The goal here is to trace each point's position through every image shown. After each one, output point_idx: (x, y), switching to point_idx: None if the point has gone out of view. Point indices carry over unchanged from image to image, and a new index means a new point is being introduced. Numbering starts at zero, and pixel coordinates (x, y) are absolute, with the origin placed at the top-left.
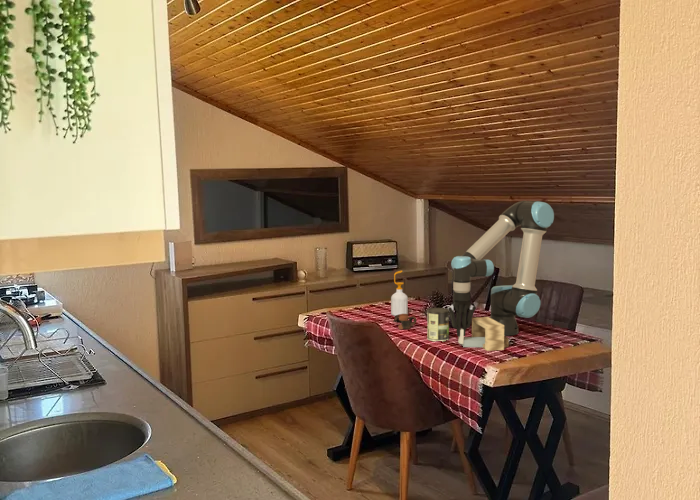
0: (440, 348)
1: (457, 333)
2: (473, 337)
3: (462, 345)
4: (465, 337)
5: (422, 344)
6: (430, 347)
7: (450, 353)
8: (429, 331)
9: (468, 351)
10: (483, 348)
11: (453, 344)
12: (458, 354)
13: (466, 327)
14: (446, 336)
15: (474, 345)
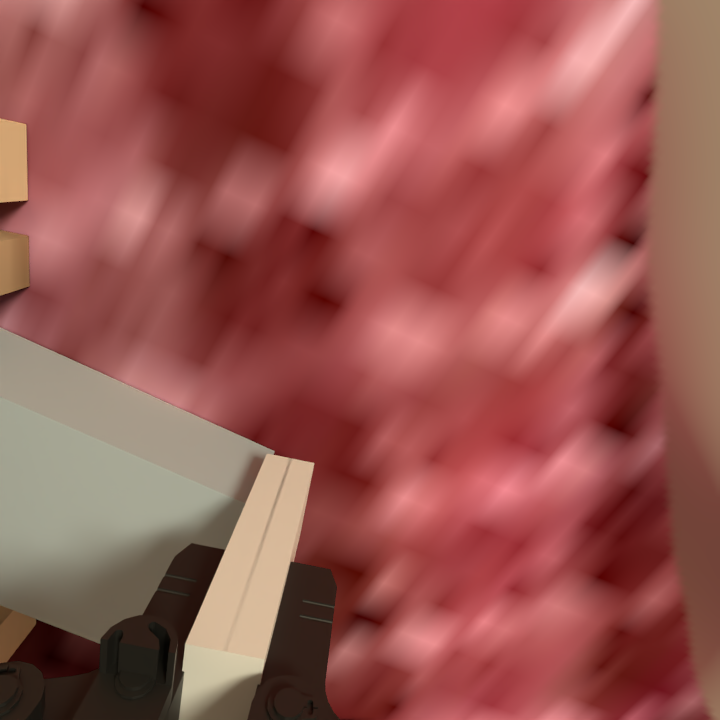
0: (580, 510)
1: (330, 622)
2: (10, 580)
3: None
4: None
5: (645, 717)
6: (658, 592)
7: (639, 232)
8: None
9: (317, 219)
10: (26, 260)
11: None
12: (569, 120)
13: (71, 693)
14: None
15: (110, 391)
